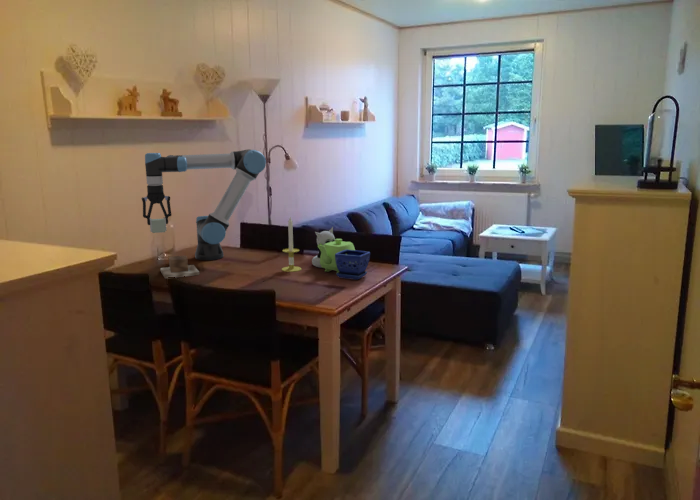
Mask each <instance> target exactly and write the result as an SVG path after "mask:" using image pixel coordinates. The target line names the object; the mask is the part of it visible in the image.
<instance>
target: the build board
mask: <svg viewBox="0 0 700 500" xmlns="http://www.w3.org/2000/svg"><path fill="white" fill-rule="evenodd" d="M160 272H161V274H162V276H163V277H164V279H166V280H167V279H169V278H168V277H175V278H184V276H185V277H191V276H192V277H193V276H200V271H199V269H198V268H197V267H196V266H195V264H188V271H183V272H172V273H171V271H170V266H168V267H166V266H165V267H160Z"/></svg>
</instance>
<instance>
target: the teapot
mask: <svg viewBox="0 0 700 500" xmlns="http://www.w3.org/2000/svg"><path fill="white" fill-rule="evenodd" d="M317 248H318V249H319V251H321V256H320V264H321V266H322V268H321V269H325V270H324V272H326V273H327V272H328V273H329V272H332V271H336V275H337V273H338V272H339V270H338V268H337V265H336V261H335V254H336V253H338V252H341V251H343V250H356V249H355V245H354V243H353V242H351V241H343V239H342V238H335V241H334V242H329V243H326V244H324V246H323V245H322V244H321V243H320V244H319V245H318V244H317ZM346 255H347V253H346ZM349 263H351V262H349ZM345 264H346V263H345Z"/></svg>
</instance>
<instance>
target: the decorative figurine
mask: <svg viewBox="0 0 700 500" xmlns="http://www.w3.org/2000/svg"><path fill="white" fill-rule="evenodd" d="M314 233H315V235H316V244H317V246H318V245H319V244H320V243H321V244H322V245H323V246H324V244H326V243H329V242H334V241H335V239H336V237H335V235H334V226H332V227H331V228H330V229H329V230H323V231H320V232H317V231H314ZM320 256H321V251H320V250H319V251H318V254H317V255H315V256H314V257H313V258H312V259H311V264H312V265H313V266H314V267H316V268H320V269H323V268H322V266H321V264H320Z"/></svg>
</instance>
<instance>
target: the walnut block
mask: <svg viewBox="0 0 700 500" xmlns="http://www.w3.org/2000/svg"><path fill="white" fill-rule="evenodd" d="M168 261H169V267H170V271H171V273H172V272H183V271H188V265H189V264H188V263H189V262H188V261H189V260H188V256H187V255H177V256H168Z"/></svg>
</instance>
